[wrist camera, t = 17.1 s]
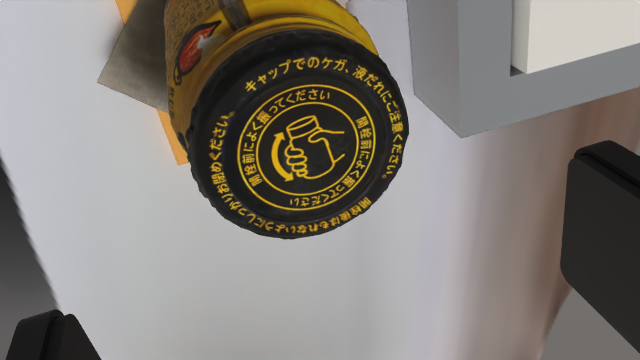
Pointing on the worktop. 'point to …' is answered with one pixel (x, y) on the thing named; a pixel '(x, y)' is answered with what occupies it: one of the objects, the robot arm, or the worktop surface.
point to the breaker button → (570, 30)
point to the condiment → (269, 106)
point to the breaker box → (498, 68)
